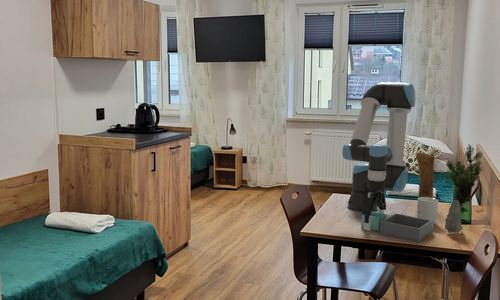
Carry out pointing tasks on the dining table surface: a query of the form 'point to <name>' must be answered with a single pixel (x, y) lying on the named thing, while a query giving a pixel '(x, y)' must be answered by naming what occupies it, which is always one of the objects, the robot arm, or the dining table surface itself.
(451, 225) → the stone tool
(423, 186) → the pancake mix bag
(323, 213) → the dining table surface
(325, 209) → the dining table surface
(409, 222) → the grey crate
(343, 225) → the dining table surface
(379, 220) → the block
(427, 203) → the mug
